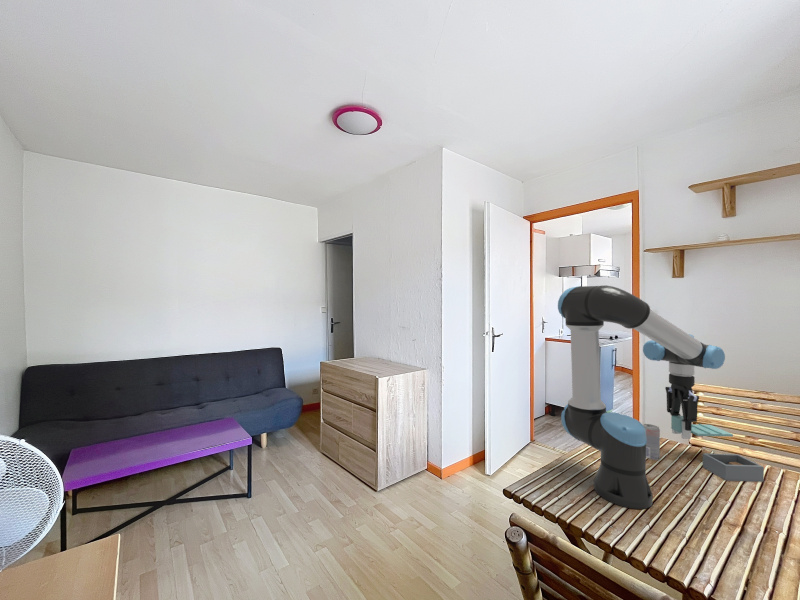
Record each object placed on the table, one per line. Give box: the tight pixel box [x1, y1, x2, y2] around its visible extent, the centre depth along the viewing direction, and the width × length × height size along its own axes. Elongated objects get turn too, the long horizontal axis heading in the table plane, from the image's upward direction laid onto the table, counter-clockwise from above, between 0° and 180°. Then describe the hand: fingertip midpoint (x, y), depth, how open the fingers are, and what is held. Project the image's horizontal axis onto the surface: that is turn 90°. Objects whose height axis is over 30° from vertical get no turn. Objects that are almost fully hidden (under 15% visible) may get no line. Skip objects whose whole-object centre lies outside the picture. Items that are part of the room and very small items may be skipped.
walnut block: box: [728, 462, 742, 465], centre depth 118 cm, size 3×3×3 cm
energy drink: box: [642, 423, 661, 460], centre depth 129 cm, size 5×5×12 cm
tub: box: [702, 452, 765, 483], centre depth 117 cm, size 12×9×6 cm
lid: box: [670, 415, 734, 437], centre depth 129 cm, size 17×9×6 cm, turn 87°
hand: (681, 435), depth 129 cm, fingers closed on lid, 4 cm apart
